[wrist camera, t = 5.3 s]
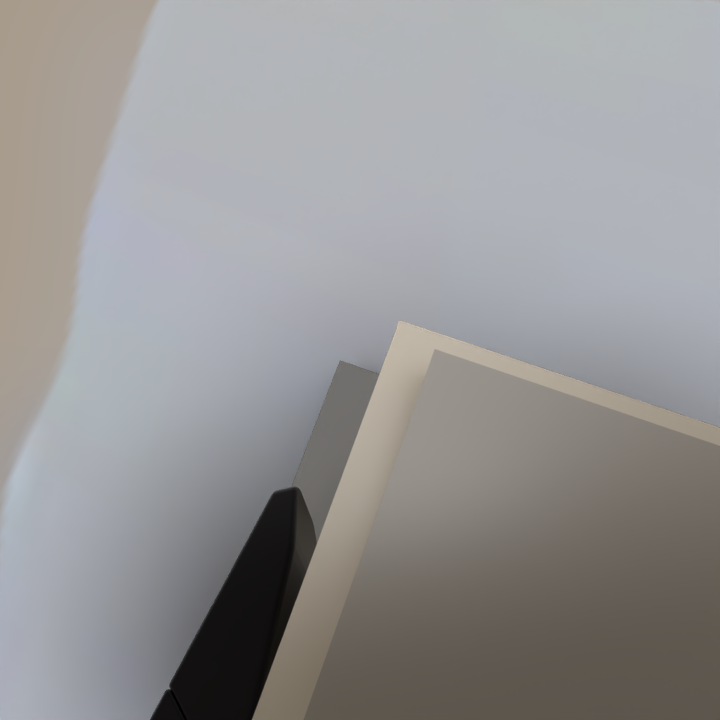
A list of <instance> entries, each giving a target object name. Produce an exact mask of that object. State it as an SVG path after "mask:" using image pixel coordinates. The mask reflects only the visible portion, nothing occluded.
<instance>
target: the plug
mask: <svg viewBox="0 0 720 720" xmlns="http://www.w3.org/2000/svg"><path fill="white" fill-rule="evenodd" d="M252 720H720V427H717V426H714V425H711V424H708V423H705V422H702V421H699V420H696V419H693V418H690V417H687V416H684V415H681V414H678V413H675V412H672V411H669V410H666V409H663V408H660V407H657V406H654V405H651V404H648V403H645V402H642V401H639V400H636V399H633V398H630V397H627V396H624V395H621V394H618V393H615V392H612V391H609V390H606V389H603V388H600V387H597V386H594V385H591V384H589V383H586V382H583V381H580V380H577V379H574V378H571V377H568V376H565V375H562V374H559V373H556V372H553V371H550V370H547V369H544V368H541V367H538V366H535V365H532V364H529V363H526V362H523V361H520V360H517V359H514V358H511V357H508V356H505V355H502V354H499V353H496V352H493V351H490V350H487V349H484V348H481V347H478V346H475V345H472V344H469V343H466V342H463V341H460V340H457V339H454V338H451V337H448V336H445V335H442V334H439V333H436V332H433V331H430V330H427V329H424V328H421V327H419V326H416V325H413V324H410V323H407V322H404V321H401V320H399V323H398V325H397V328H396V331H395V334H394V336H393V339H392V342H391V344H390V347H389V350H388V353H387V355H386V358H385V361H384V363H383V366H382V369H381V372H380V374H379V377H378V380H377V382H376V385H375V388H374V391H373V393H372V396H371V399H370V401H369V404H368V407H367V409H366V412H365V415H364V418H363V420H362V423H361V426H360V428H359V431H358V434H357V437H356V439H355V442H354V445H353V447H352V450H351V453H350V456H349V458H348V461H347V464H346V466H345V469H344V472H343V474H342V477H341V480H340V483H339V485H338V488H337V491H336V493H335V496H334V499H333V502H332V504H331V507H330V510H329V512H328V515H327V518H326V521H325V523H324V526H323V529H322V531H321V534H320V537H319V540H318V542H317V545H316V548H315V550H314V553H313V556H312V558H311V561H310V564H309V567H308V569H307V572H306V575H305V577H304V580H303V583H302V586H301V588H300V591H299V594H298V596H297V599H296V602H295V605H294V607H293V610H292V613H291V615H290V618H289V621H288V624H287V626H286V629H285V632H284V634H283V637H282V640H281V642H280V645H279V648H278V651H277V653H276V656H275V659H274V661H273V664H272V667H271V670H270V672H269V675H268V678H267V680H266V683H265V686H264V689H263V691H262V694H261V697H260V699H259V702H258V705H257V708H256V710H255V713H254V716H253V718H252Z"/></svg>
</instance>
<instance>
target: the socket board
mask: <svg viewBox="0 0 720 720" xmlns="http://www.w3.org/2000/svg"><path fill="white" fill-rule="evenodd" d="M378 377H379V374H377V373H374V372H371V371H369V370H366V369H363V368H360V367H357V366H354V365H352V364H349V363H346V362H343V361H340V362H339V364H338V367H337V370H336V372H335V375H334V377H333V380H332V383H331V385H330V388H329V390H328V393H327V396H326V398H325V401H324V403H323V406H322V409H321V411H320V414H319V416H318V419H317V422H316V424H315V427H314V429H313V432H312V435H311V437H310V440H309V442H308V445H307V448H306V450H305V453H304V455H303V458H302V461H301V463H300V466H299V468H298V471H297V474H296V476H295V479H294V481H293V484H292V487H294V486H295V487H298V488H299V489H300V490H301V493H302V495H303V498H304V500H305V503H306V505H307V508H308V510H309V513H310V515H311V518H312V521H313V525H314V529H315V535H316V542H318V540H319V537H320V534H321V531H322V529H323V526H324V523H325V521H326V518H327V515H328V512H329V510H330V507H331V504H332V502H333V499H334V496H335V493H336V491H337V488H338V485H339V483H340V480H341V477H342V474H343V472H344V469H345V466H346V464H347V461H348V458H349V456H350V453H351V450H352V447H353V445H354V442H355V439H356V437H357V434H358V431H359V428H360V426H361V423H362V420H363V418H364V415H365V412H366V409H367V407H368V404H369V401H370V399H371V396H372V393H373V391H374V388H375V385H376V382H377V380H378Z"/></svg>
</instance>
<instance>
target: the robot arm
mask: <svg viewBox="0 0 720 720" xmlns="http://www.w3.org/2000/svg"><path fill="white" fill-rule="evenodd" d="M316 545H317V542H316V535H315V529H314V525H313V521H312V518H311V515H310V513H309V510H308V508H307V505H306V503H305V500H304V498H303V495H302V493H301V490H300V489H299V488H298V487H295V486H294V487H290V488H286V489H282V490H278V491H275V492H274V493H273V494H272V496H271V497H270V499H269V501H268V503H267V505H266V507H265V508H264V510H263V512H262V514H261V516H260V518H259V520H258V521H257V523H256V525H255V527H254V529H253V531H252V532H251V534H250V536H249V538H248V540H247V542H246V544H245V545H244V547H243V549H242V551H241V553H240V555H239V557H238V558H237V560H236V562H235V564H234V566H233V568H232V569H231V571H230V573H229V575H228V577H227V579H226V581H225V582H224V584H223V586H222V588H221V590H220V592H219V594H218V595H217V597H216V599H215V601H214V603H213V605H212V606H211V608H210V610H209V612H208V614H207V616H206V618H205V619H204V621H203V623H202V625H201V627H200V629H199V631H198V632H197V634H196V636H195V638H194V640H193V642H192V643H191V645H190V647H189V649H188V651H187V653H186V655H185V656H184V658H183V660H182V662H181V664H180V666H179V668H178V669H177V671H176V673H175V675H174V677H173V679H172V680H171V682H170V685H169V687H170V689H171V690H170V689H168V690H166V691H165V693H164V695H163V697H162V699H161V700H160V702H159V704H158V706H157V708H156V710H155V711H154V713H153V715H152V717H151V719H150V720H252V718H253V716H254V713H255V710H256V708H257V705H258V702H259V699H260V697H261V694H262V691H263V689H264V686H265V683H266V680H267V678H268V675H269V672H270V670H271V667H272V664H273V661H274V659H275V656H276V653H277V651H278V648H279V645H280V642H281V640H282V637H283V634H284V632H285V629H286V626H287V624H288V621H289V618H290V615H291V613H292V610H293V607H294V605H295V602H296V599H297V596H298V594H299V591H300V588H301V586H302V583H303V580H304V577H305V575H306V572H307V569H308V567H309V564H310V561H311V558H312V556H313V553H314V550H315V548H316Z"/></svg>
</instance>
